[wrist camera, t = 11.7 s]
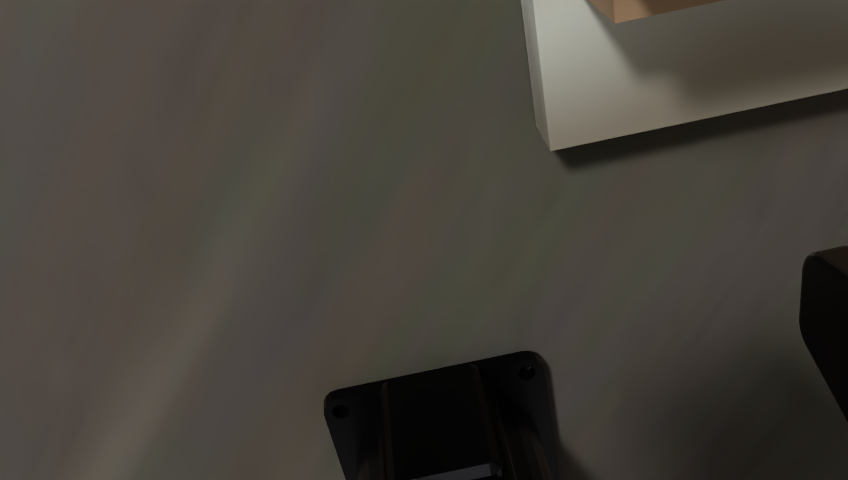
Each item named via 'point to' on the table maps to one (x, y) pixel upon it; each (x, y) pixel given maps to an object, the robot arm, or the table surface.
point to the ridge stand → (675, 61)
